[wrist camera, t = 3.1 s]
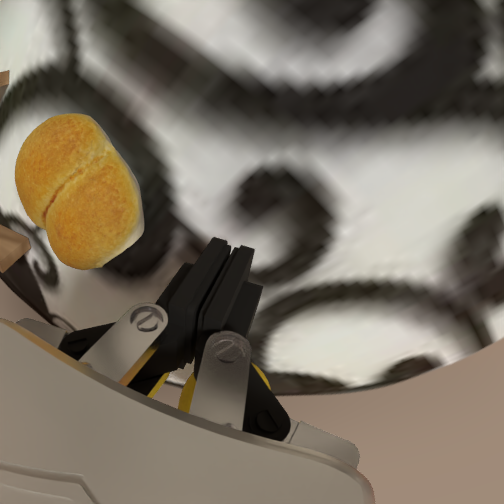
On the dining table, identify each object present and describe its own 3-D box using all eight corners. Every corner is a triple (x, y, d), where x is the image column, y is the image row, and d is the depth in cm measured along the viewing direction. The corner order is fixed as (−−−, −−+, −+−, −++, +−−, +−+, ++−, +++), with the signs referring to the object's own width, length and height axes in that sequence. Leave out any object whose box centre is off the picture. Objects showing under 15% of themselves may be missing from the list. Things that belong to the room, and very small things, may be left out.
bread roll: (79, 81, 12) (21, 96, 8) (175, 210, 15) (133, 253, 11) (27, 169, 16) (-15, 195, 12) (100, 267, 19) (66, 305, 15)
